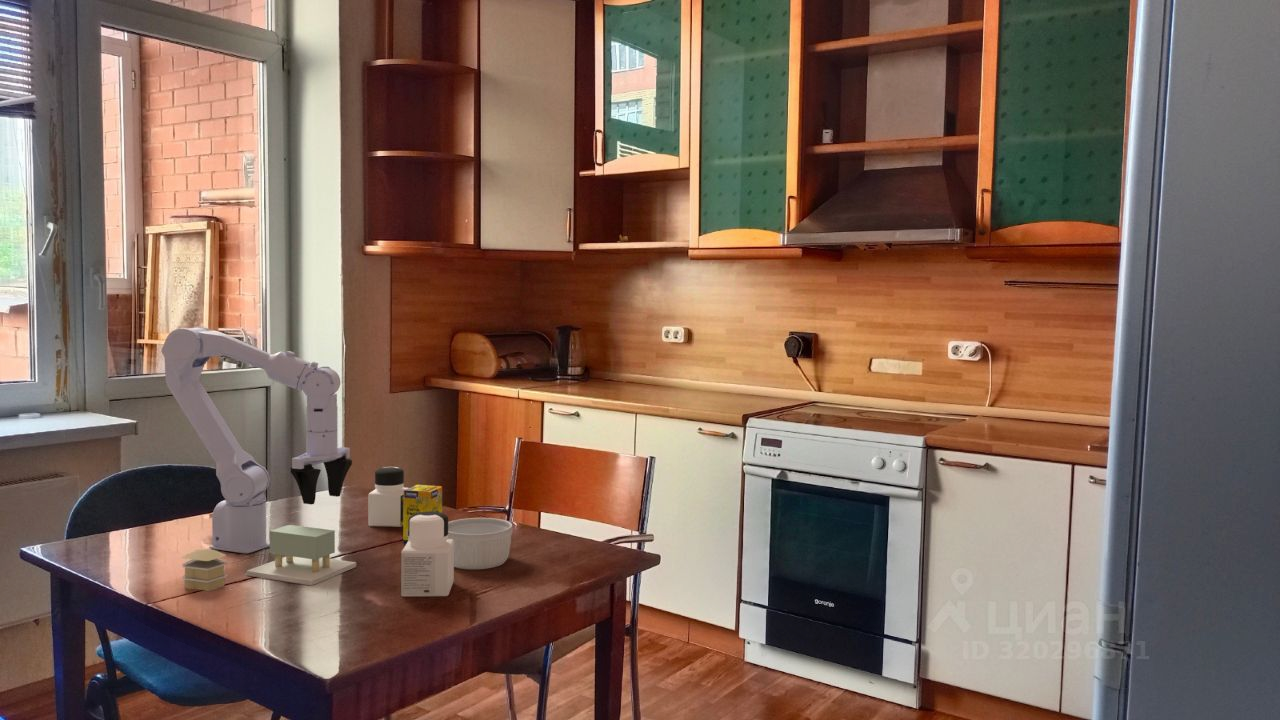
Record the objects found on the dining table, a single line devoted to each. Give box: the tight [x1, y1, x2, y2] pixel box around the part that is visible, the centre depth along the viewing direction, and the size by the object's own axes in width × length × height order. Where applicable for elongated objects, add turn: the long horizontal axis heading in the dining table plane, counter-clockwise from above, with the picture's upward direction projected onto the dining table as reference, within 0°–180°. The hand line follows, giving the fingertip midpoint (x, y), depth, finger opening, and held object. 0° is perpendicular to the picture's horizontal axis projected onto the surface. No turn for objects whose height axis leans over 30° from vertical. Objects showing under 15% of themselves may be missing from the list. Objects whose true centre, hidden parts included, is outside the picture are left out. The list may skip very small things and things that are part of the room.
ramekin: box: [448, 517, 514, 570], centre depth 174 cm, size 13×13×7 cm
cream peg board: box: [245, 554, 357, 586], centre depth 166 cm, size 14×12×3 cm
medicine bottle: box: [367, 466, 410, 528], centre depth 202 cm, size 7×7×12 cm
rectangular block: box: [269, 524, 336, 560], centre depth 165 cm, size 10×5×4 cm, turn 70°
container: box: [400, 511, 455, 597], centre depth 156 cm, size 8×8×13 cm
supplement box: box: [402, 484, 443, 545], centre depth 187 cm, size 6×6×11 cm
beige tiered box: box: [181, 548, 228, 592], centre depth 157 cm, size 10×9×6 cm
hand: (322, 499), depth 181 cm, fingers open, 7 cm apart
